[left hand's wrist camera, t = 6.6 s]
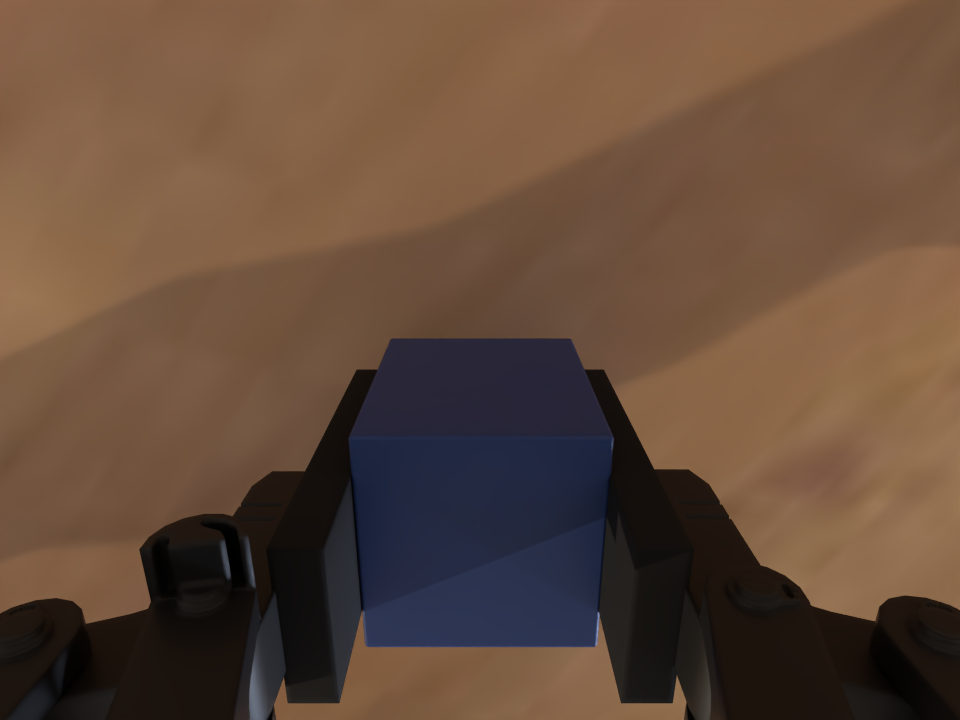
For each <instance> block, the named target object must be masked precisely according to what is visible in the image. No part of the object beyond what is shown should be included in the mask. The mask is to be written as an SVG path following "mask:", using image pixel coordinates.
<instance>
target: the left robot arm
mask: <svg viewBox="0 0 960 720" xmlns="http://www.w3.org/2000/svg"><path fill="white" fill-rule="evenodd" d="M585 372H586V375H587V377H588V379H589V382H590V384H591V386H592V389H593V391H594V393H595V396H596V398H597V400H598V403H599V405H600V407H601V410H602V412H603V414H604V416H605V419H606V421H607V423H608V426H609V428H610V430H611V433H612V435H613V438H614V443H613V456H612V468H611V475H610V482H609V494H608V506H607V519H606V531H605V544H604V556H603V568H602V581H601V593H600V606H599V614H600V618H601V622H602V626H603V631H604V635H605V639H606V643H607V647H608V651H609V655H610V659H611V663H612V667H613V672H614V676H615V680H616V684H617V688H618V692H619V696H620V700H621V703H673V697H674V690H675V683H676V676H678V679H679V682H680V684H681V687H682V690H683V693H684V696H685V698H686V701H687V703H686V710H685V716H684V720H960V610H958V609H956V608H954V607H952V606H950V605H947V604H945V603H942V602H938V601H935V600H931V599H928V598H923V597H913V596H900V597H895V598H889V599H888V600H886V601H885V602H884V603H883V604H882V605H881V606H880V607H879V610H878V614H877V617H876V621H870V620H866V619H861V618H857V617H852V616H848V615H843V614H839V613H834V612H830V611H827V610H823V609H820V608H816V607H813V606H811V605H810V602H809V600H808V599H807V597H806V596H805V594H804V593H803V591H802V590H801V588H800V587H799V586H798V585H796V584H795V583H794V582H792V581H791V580H790V579H789V578H787V577H786V576H785V575H782V574H780V573H778V572H776V571H774V570H772V569H770V568H768V567H764V566H761V565H760V564H759V562H758V561H757V559H756V557H755V556H754V554H753V553H752V551H751V550H750V548H749V547H748V545H747V543H746V542H745V540H744V539H743V537H742V536H741V534H740V532H739V531H738V529H737V528H736V526H735V525H734V523H733V521H732V520H731V519H729V515H728V514H727V512H726V510H725V509H724V507H723V506H722V505H720V501H719V499H718V498H717V496H716V495H715V493H714V492H713V490H712V489H711V487H710V485H709V484H708V483H706V482H705V481H704V480H702V479H701V478H699V477H698V476H697V475H695V474H694V473H692V472H691V471H690V470H679V469H654V468H653V466H652V464H651V462H650V460H649V458H648V456H647V454H646V452H645V450H644V448H643V446H642V444H641V442H640V440H639V438H638V436H637V434H636V432H635V431H634V429H633V427H632V425H631V423H630V421H629V419H628V417H627V415H626V413H625V411H624V409H623V407H622V405H621V403H620V401H619V399H618V397H617V395H616V393H615V391H614V389H613V387H612V385H611V383H610V381H609V379H608V377H607V375H606V373H605V371H604V370H585ZM376 373H377V370H356V372H355V374H354V376H353V378H352V380H351V382H350V384H349V386H348V388H347V390H346V392H345V394H344V396H343V398H342V400H341V402H340V404H339V406H338V408H337V410H336V412H335V414H334V416H333V418H332V420H331V422H330V424H329V426H328V427H327V429H326V431H325V433H324V435H323V437H322V439H321V441H320V443H319V445H318V447H317V449H316V451H315V453H314V455H313V457H312V459H311V461H310V463H309V465H308V467H307V469H306V471H272V472H271V473H270V474H268V475H267V476H265V477H264V478H263V479H261V480H260V481H258V482H257V483H256V484H254V485H253V486H252V487H251V489H250V490H249V492H248V493H247V495H246V496H245V498H244V500H243V501H242V503H241V507H239V508H238V509H237V511H236V512H235V514H234V515H233V516H229V515H225V514H202V515H197V516H193V517H188V518H184V519H181V520H179V521H176V522H174V523H171V524H169V525H167V526H164V527H163V528H162V529H160V530H159V531H157V532H156V533H154V534H153V535H151V536H150V537H149V538H148V539H147V540H146V542H145V543H144V544H143V545H142V547H141V548H140V549H139V550H140V554H141V559H142V563H143V568H144V572H145V577H146V581H147V585H148V590H149V594H150V599H151V603H150V606H149V608H148V609H146V610H143V611H139V612H136V613H133V614H129V615H125V616H120V617H116V618H111V619H107V620H102V621H98V622H93V623H89V624H86V623H85V619H84V615H83V612H82V609H81V608H80V607H79V606H77V605H76V604H75V603H74V602H73V601H69V600H63V599H58V598H54V599H44V600H35V601H32V602H29V603H25V604H21V605H19V606H16V607H13V608H10V609H8V610H6V611H4V612H2V613H1V614H0V720H276V716H275V710H274V703H275V700H276V697H277V694H278V692H279V689H280V686H281V683H282V680H283V678H284V680H285V687H286V694H287V701H288V703H339V702H340V698H341V694H342V690H343V686H344V682H345V677H346V673H347V669H348V665H349V661H350V657H351V653H352V649H353V645H354V641H355V636H356V632H357V628H358V624H359V620H360V616H361V612H362V600H361V588H360V575H359V563H358V550H357V538H356V525H355V513H354V500H353V488H352V475H351V463H350V450H349V436H350V434H351V431H352V429H353V427H354V424H355V422H356V420H357V417H358V415H359V413H360V410H361V408H362V405H363V403H364V401H365V398H366V396H367V394H368V391H369V389H370V387H371V384H372V382H373V380H374V377H375V375H376Z"/></svg>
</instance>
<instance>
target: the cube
mask: <svg viewBox="0 0 960 720" xmlns="http://www.w3.org/2000/svg"><path fill="white" fill-rule="evenodd" d="M613 443H614V438H613V435H612V433H611V430H610V428H609V426H608V423H607V421H606V419H605V416H604V414H603V412H602V410H601V407H600V405H599V403H598V400H597V398H596V396H595V393H594V391H593V389H592V386H591V384H590V382H589V379H588V377H587V375H586V372H585V370H584V368H583V366H582V363H581V361H580V359H579V356H578V354H577V352H576V349H575V347H574V345H573V342H572V340H571V339H391V340H390V342H389V345H388V347H387V349H386V352H385V354H384V356H383V359H382V361H381V363H380V366H379V368H378V370H377V373H376V375H375V377H374V380H373V382H372V384H371V387H370V389H369V391H368V394H367V396H366V398H365V401H364V403H363V405H362V408H361V410H360V413H359V415H358V417H357V420H356V422H355V424H354V427H353V429H352V431H351V434H350V436H349V450H350V463H351V475H352V488H353V500H354V513H355V525H356V538H357V550H358V563H359V575H360V588H361V600H362V613H363V625H364V638H365V644H366V646H367V647H595V646H596V645H597V640H598V628H599V616H600V614H599V606H600V593H601V581H602V568H603V556H604V544H605V531H606V519H607V506H608V494H609V482H610V475H611V468H612V456H613Z"/></svg>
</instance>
